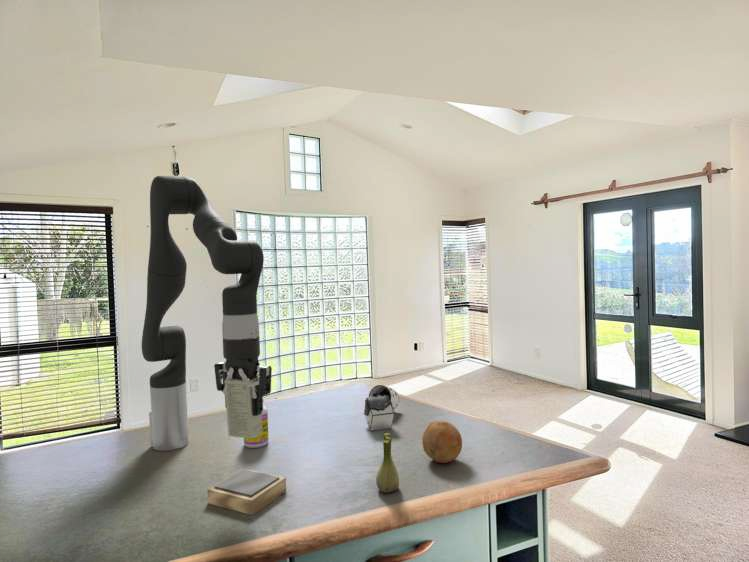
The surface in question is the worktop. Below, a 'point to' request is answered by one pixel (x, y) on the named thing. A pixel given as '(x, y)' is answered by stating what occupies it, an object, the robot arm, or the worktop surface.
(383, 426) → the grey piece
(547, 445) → the worktop surface
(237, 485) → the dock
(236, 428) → the skincare box
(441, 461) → the onion
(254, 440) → the supplement bottle
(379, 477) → the fennel bulb
